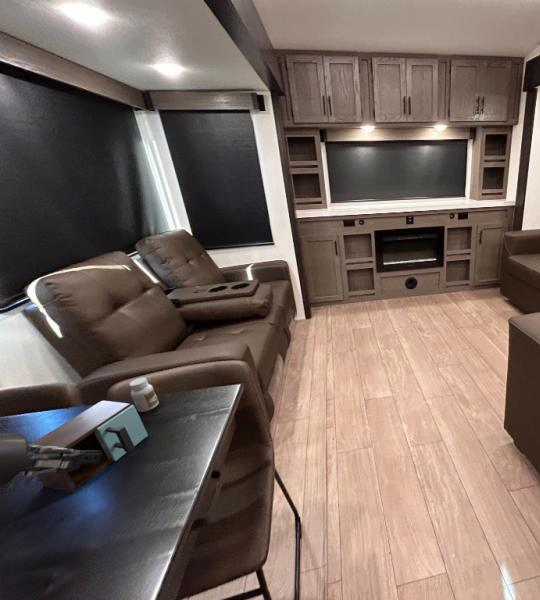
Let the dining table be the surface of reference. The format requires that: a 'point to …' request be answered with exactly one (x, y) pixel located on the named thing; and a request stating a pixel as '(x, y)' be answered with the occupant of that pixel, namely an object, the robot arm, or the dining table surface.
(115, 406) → the cabinet
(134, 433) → the glass door
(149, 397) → the pill bottle
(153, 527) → the dining table surface
